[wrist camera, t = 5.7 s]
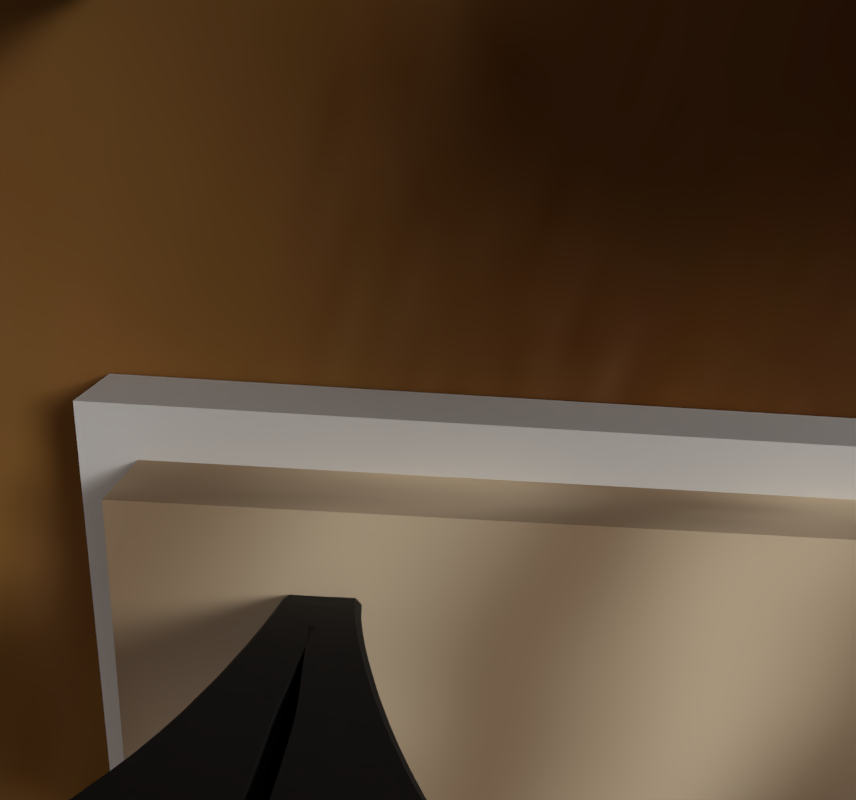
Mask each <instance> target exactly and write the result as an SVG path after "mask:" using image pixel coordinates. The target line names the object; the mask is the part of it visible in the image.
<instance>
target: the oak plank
mask: <svg viewBox="0 0 856 800" xmlns="http://www.w3.org/2000/svg"><path fill="white" fill-rule="evenodd" d="M102 505H103V517H104V529H105V541H106V553H107V564H108V576H109V588H110V600H111V612H112V624H113V636H114V647H115V659H116V671H117V683H118V695H119V707H120V718H121V730H122V742H123V754H124V760H125V759H126V758H128V757H129V756H130V755H132V754H133V753H134V752H135V751H137V750H138V749H139V748H140V747H142V746H143V745H144V744H145V743H146V742H148V741H149V740H150V739H151V738H152V737H154V736H155V735H156V734H157V733H158V732H160V731H161V730H162V729H163V728H164V727H165V726H166V725H168V724H169V723H170V722H171V721H172V720H173V719H174V718H175V717H176V716H178V715H179V714H180V713H181V712H182V711H183V710H184V709H185V708H186V707H187V706H188V705H189V704H190V703H191V702H192V701H193V700H194V699H195V698H196V697H197V696H198V695H199V694H200V693H201V692H202V691H203V690H204V689H205V688H206V687H207V686H208V685H209V684H210V683H211V682H213V681H214V680H215V679H216V678H217V677H218V675H219V674H220V673H221V672H222V671H223V670H224V669H225V668H226V667H227V666H228V665H229V664H230V662H231V661H232V660H233V659H234V658H235V657H236V656H237V655H238V654H239V652H240V651H241V650H242V649H243V648H244V647H245V646H246V645H247V644H248V642H249V641H250V640H251V639H252V638H253V636H254V635H255V634H256V633H257V632H258V630H259V629H260V628H261V627H262V626H263V624H264V623H265V622H266V621H267V619H268V618H269V617H270V616H271V614H272V613H273V612H274V610H275V609H276V608H277V607H278V605H279V604H280V602H281V601H282V600H283V599H284V598H286V597H287V596H288V595H304V596H323V597H345V598H356V599H357V600H358V601H359V602H360V603H361V604H362V612H361V621H362V630H363V637H364V642H365V647H366V652H367V656H368V660H369V664H370V667H371V671H372V674H373V678H374V681H375V685H376V688H377V691H378V694H379V697H380V700H381V703H382V705H383V708H384V710H385V713H386V716H387V718H388V721H389V724H390V726H391V728H392V731H393V733H394V736H395V738H396V740H397V742H398V745H399V747H400V749H401V751H402V753H403V755H404V757H405V759H406V762H407V764H408V766H409V768H410V770H411V772H412V774H413V775H414V777H415V779H416V781H417V783H418V785H419V787H420V789H421V790H422V792H423V794H424V796H425V798H426V799H427V800H856V500H851V499H833V498H815V497H797V496H779V495H761V494H743V493H726V492H708V491H690V490H672V489H654V488H636V487H618V486H600V485H582V484H564V483H546V482H528V481H510V480H492V479H474V478H456V477H438V476H420V475H402V474H384V473H366V472H349V471H331V470H313V469H295V468H277V467H259V466H241V465H223V464H205V463H187V462H169V461H151V460H138V461H137V462H136V463H135V464H134V465H133V466H132V467H131V468H130V469H129V471H128V472H127V473H126V474H125V475H124V476H123V477H122V478H121V479H120V480H119V482H118V483H117V484H116V485H115V486H114V487H113V488H112V489H111V490H110V491H109V493H108V494H107V495H106V496H105V497H104V498H103V499H102Z"/></svg>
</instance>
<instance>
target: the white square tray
mask: <svg viewBox="0 0 856 800" xmlns="http://www.w3.org/2000/svg"><path fill="white" fill-rule="evenodd" d="M73 408H74V418H75V428H76V438H77V448H78V458H79V468H80V477H81V487H82V497H83V507H84V517H85V527H86V537H87V547H88V557H89V567H90V577H91V587H92V597H93V607H94V617H95V627H96V637H97V647H98V657H99V667H100V677H101V687H102V697H103V707H104V717H105V727H106V737H107V747H108V757H109V767H110V771H111V770H112V769H113V768H114V767H116V766H117V765H118V764H120V763H121V762H122V761H124V754H123V742H122V730H121V718H120V707H119V695H118V683H117V671H116V659H115V647H114V636H113V624H112V612H111V600H110V588H109V576H108V564H107V553H106V541H105V529H104V517H103V505H102V499H103V498H104V497H105V496H106V495H107V494H108V493H109V491H110V490H111V489H112V488H113V487H114V486H115V485H116V484H117V483H118V482H119V480H120V479H121V478H122V477H123V476H124V475H125V474H126V473H127V472H128V471H129V469H130V468H131V467H132V466H133V465H134V464H135V463H136V462H137V461H138V460H151V461H169V462H187V463H205V464H223V465H241V466H259V467H277V468H295V469H313V470H331V471H349V472H366V473H384V474H402V475H420V476H438V477H456V478H474V479H492V480H510V481H528V482H546V483H564V484H582V485H600V486H618V487H636V488H654V489H672V490H690V491H708V492H726V493H743V494H761V495H779V496H797V497H815V498H833V499H851V500H856V418H840V417H823V416H806V415H790V414H773V413H756V412H740V411H723V410H706V409H690V408H673V407H656V406H640V405H623V404H607V403H590V402H573V401H557V400H540V399H523V398H507V397H490V396H473V395H457V394H440V393H423V392H407V391H390V390H373V389H357V388H340V387H324V386H307V385H290V384H274V383H257V382H240V381H224V380H207V379H190V378H174V377H157V376H140V375H124V374H108V375H107V376H106V377H104V378H103V379H101V380H100V381H99V382H97V383H96V384H95V385H93V386H92V387H91V388H89V389H88V390H87V391H85V392H84V393H83V394H81V395H80V396H79V397H77V398H76V399H75V400H73Z"/></svg>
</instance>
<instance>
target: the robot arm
mask: <svg viewBox="0 0 856 800" xmlns="http://www.w3.org/2000/svg"><path fill="white" fill-rule="evenodd" d="M361 612H362V604H361V603H360V602H359V601H358V600H357V599H356V598H345V597H323V596H304V595H288V596H287V597H286V598H284V599H283V600H282V601H281V602H280V604H279V605H278V607H277V608H276V609H275V610H274V612H273V613H272V614H271V616H270V617H269V618H268V619H267V621H266V622H265V623H264V624H263V626H262V627H261V628H260V629H259V630H258V632H257V633H256V634H255V635H254V636H253V638H252V639H251V640H250V641H249V642H248V644H247V645H246V646H245V647H244V648H243V649H242V650H241V651H240V652H239V654H238V655H237V656H236V657H235V658H234V659H233V660H232V661H231V662H230V664H229V665H228V666H227V667H226V668H225V669H224V670H223V671H222V672H221V673H220V674H219V675H218V677H217V678H216V679H215V680H214V681H213V682H211V683H210V684H209V685H208V686H207V687H206V688H205V689H204V690H203V691H202V692H201V693H200V694H199V695H198V696H197V697H196V698H195V699H194V700H193V701H192V702H191V703H190V704H189V705H188V706H187V707H186V708H185V709H184V710H183V711H182V712H181V713H180V714H179V715H178V716H176V717H175V718H174V719H173V720H172V721H171V722H170V723H169V724H168V725H166V726H165V727H164V728H163V729H162V730H161V731H160V732H158V733H157V734H156V735H155V736H154V737H152V738H151V739H150V740H149V741H148V742H146V743H145V744H144V745H143V746H142V747H140V748H139V749H138V750H137V751H135V752H134V753H133V754H132V755H130V756H129V757H128V758H126V759H125V760H124V761H122V762H121V763H120V764H118V765H117V766H116V767H114V768H113V769H112V770H111V771H109V772H108V773H107V774H105V775H104V776H102V777H101V778H100V779H98V780H97V781H95V782H94V783H93V784H91V785H90V786H88V787H87V788H86V789H84V790H83V791H81V792H80V793H79V794H77V795H76V796H74V797H73V798H71V799H70V800H427V799H426V798H425V796H424V794H423V792H422V790H421V789H420V787H419V785H418V783H417V781H416V779H415V777H414V775H413V774H412V772H411V770H410V768H409V766H408V764H407V762H406V759H405V757H404V755H403V753H402V751H401V749H400V747H399V745H398V742H397V740H396V738H395V736H394V733H393V731H392V728H391V726H390V724H389V721H388V718H387V716H386V713H385V710H384V708H383V705H382V703H381V700H380V697H379V694H378V691H377V688H376V685H375V681H374V678H373V674H372V671H371V667H370V664H369V660H368V656H367V652H366V647H365V642H364V637H363V630H362V621H361Z"/></svg>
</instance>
